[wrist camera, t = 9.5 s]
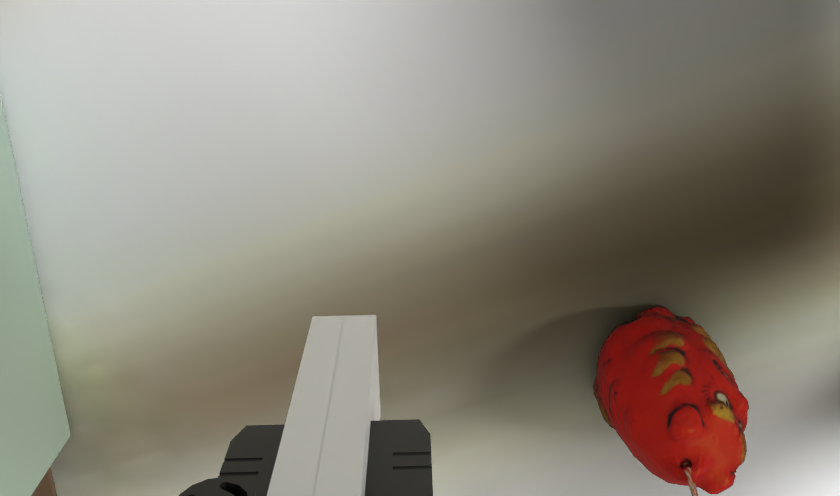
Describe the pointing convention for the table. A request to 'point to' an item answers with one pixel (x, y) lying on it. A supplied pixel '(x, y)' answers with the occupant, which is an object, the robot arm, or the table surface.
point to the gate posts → (46, 486)
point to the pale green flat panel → (24, 348)
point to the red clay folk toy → (673, 400)
